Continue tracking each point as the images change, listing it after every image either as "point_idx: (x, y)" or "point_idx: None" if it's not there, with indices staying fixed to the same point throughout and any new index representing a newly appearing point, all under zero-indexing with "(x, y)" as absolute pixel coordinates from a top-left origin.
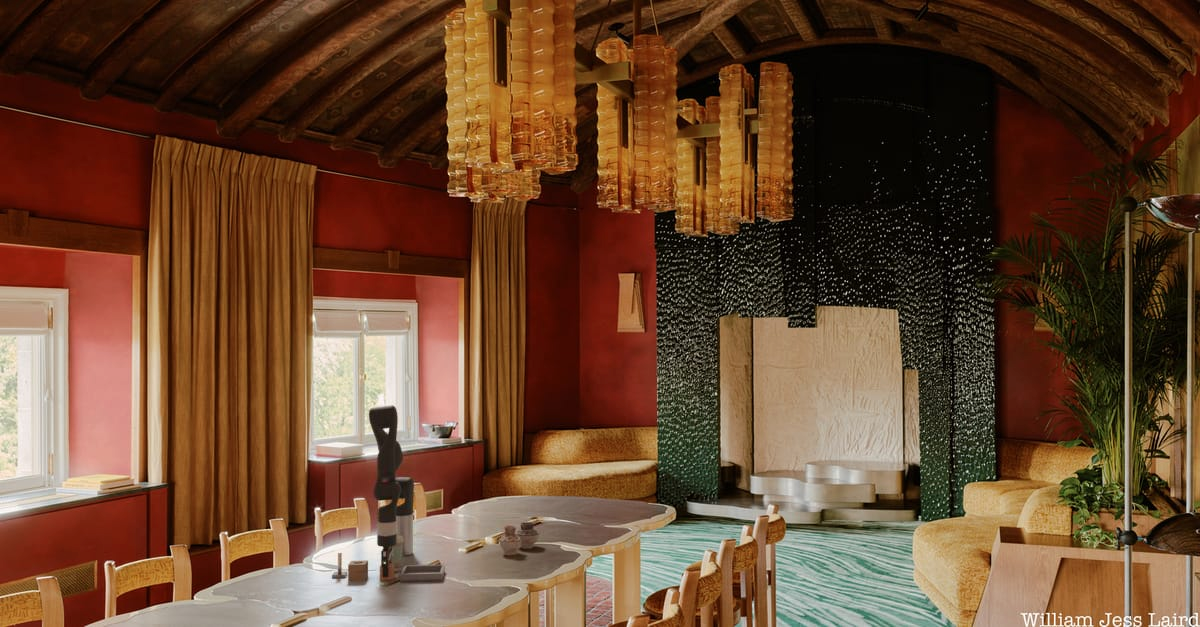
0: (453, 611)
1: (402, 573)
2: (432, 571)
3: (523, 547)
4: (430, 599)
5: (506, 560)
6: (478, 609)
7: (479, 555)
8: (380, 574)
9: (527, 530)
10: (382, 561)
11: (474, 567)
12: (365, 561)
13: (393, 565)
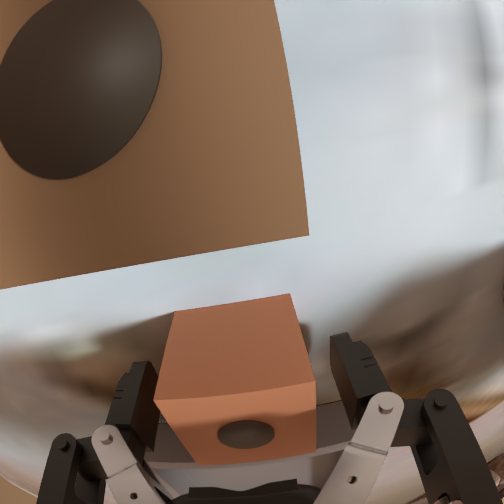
0: (4, 471)
1: (158, 466)
2: (326, 476)
3: (493, 462)
4: (25, 463)
5: (420, 493)
6: (36, 493)
7: (492, 442)
8: (169, 345)
9: (499, 489)
10: (50, 483)
11: (379, 493)
12: (189, 210)
13: (248, 459)
